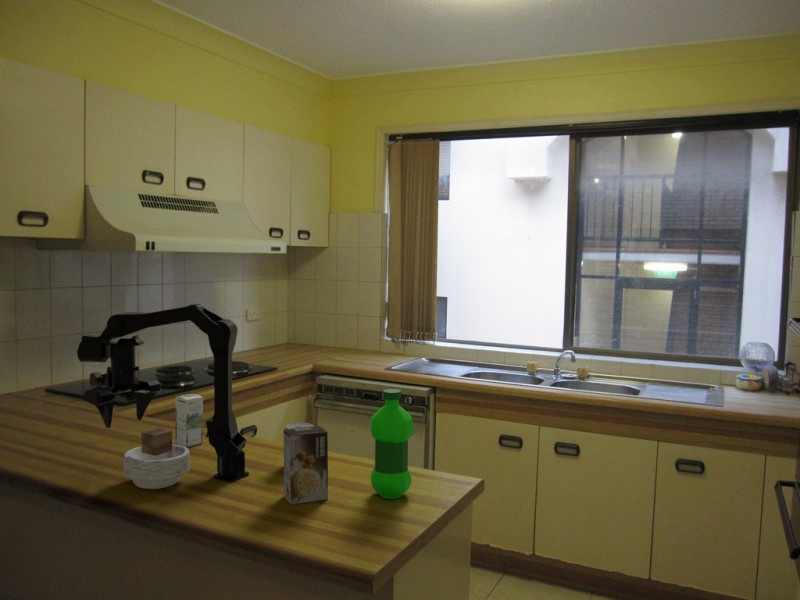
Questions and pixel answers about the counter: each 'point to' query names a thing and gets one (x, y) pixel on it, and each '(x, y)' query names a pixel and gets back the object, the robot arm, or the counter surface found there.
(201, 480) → the counter surface
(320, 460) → the coffee box
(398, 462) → the plastic bottle
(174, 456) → the paper bowls
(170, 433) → the walnut block
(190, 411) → the syrup box
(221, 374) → the robot arm
